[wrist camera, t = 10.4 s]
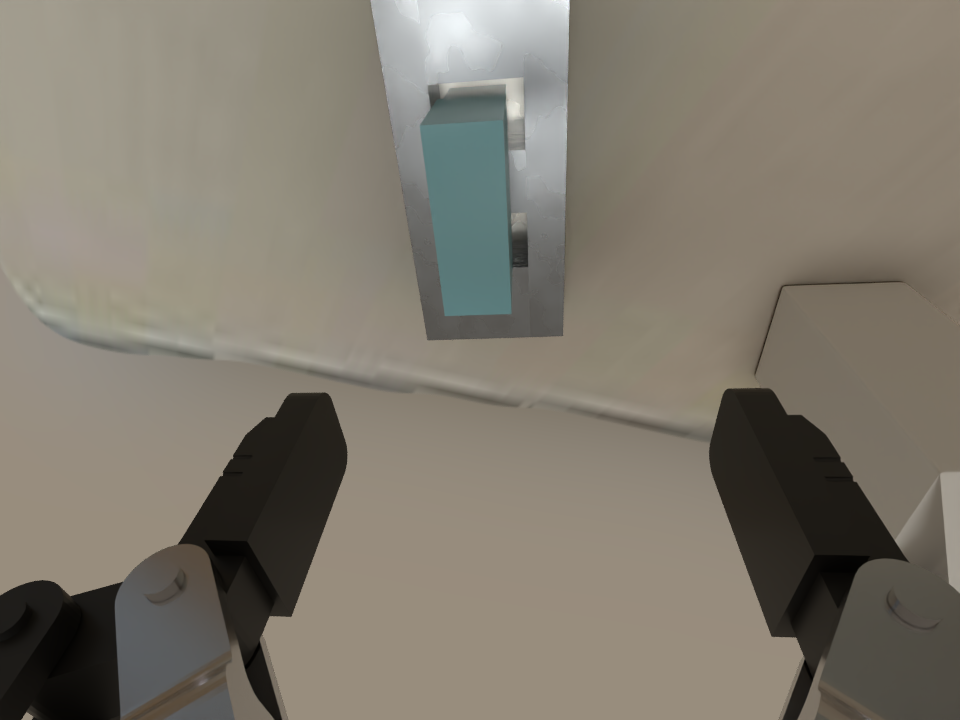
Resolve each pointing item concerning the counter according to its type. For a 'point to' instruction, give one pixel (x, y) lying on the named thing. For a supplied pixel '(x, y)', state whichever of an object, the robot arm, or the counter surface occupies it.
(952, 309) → the counter surface
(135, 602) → the robot arm
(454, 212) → the teal elongated block
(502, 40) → the grey socket block
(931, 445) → the milk carton
